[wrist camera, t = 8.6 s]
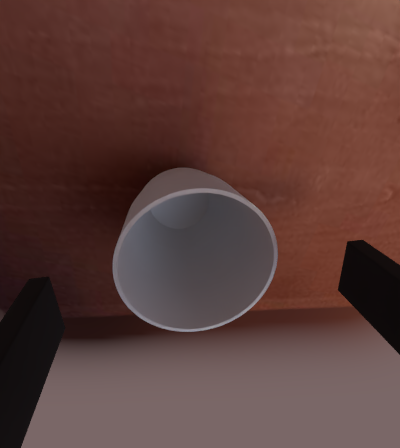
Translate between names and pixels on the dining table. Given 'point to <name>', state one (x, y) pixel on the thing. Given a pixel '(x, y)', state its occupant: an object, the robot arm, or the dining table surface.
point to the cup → (193, 252)
